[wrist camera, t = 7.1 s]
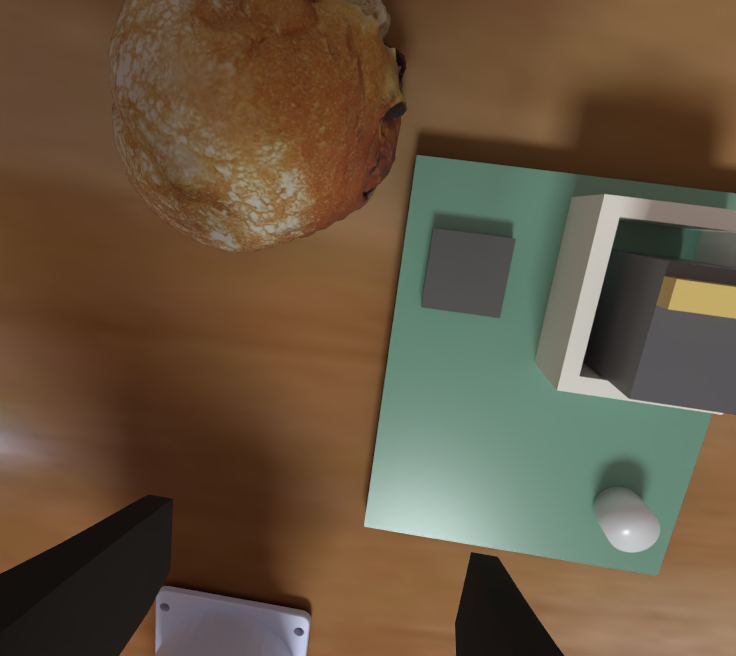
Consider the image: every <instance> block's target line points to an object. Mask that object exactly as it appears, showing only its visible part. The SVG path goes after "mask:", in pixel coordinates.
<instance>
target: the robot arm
mask: <svg viewBox="0 0 736 656" xmlns="http://www.w3.org/2000/svg"><path fill="white" fill-rule="evenodd" d="M172 508H173V499H170V498H164V497H159V496H153V495H147V496H145V497H143V498H141V499H139V500H138V501H136V502H134V503H132V504H130V505H128V506H127V507H125V508H123V509H121V510H120V511H118V512H116V513H114V514H113V515H111V516H109V517H107V518H105V519H104V520H102V521H100V522H98V523H97V524H95V525H93V526H91V527H89V528H88V529H86V530H84V531H82V532H80V533H79V534H77V535H75V536H73V537H71V538H70V539H68V540H66V541H64V542H62V543H60V544H58V545H56V546H55V547H53V548H51V549H49V550H47V551H45V552H43V553H41V554H39V555H37V556H35V557H33V558H31V559H29V560H27V561H25V562H23V563H21V564H19V565H17V566H15V567H13V568H11V569H9V570H7V571H5V572H3V573H1V574H0V656H119V655H120V653H121V652H122V650H123V649H124V647H125V646H126V644H127V643H128V641H129V640H130V638H131V637H132V635H133V634H134V633H135V631H136V630H137V628H138V627H139V625H140V624H141V622H142V621H143V619H144V618H145V616H146V615H147V613H148V611H149V609H150V607H151V606H152V604H153V602H154V600H155V598H156V643H155V656H307V650H308V642H309V633H310V624H311V616H310V615H309V613H307V612H306V611H304V610H299V609H294V608H288V607H283V606H277V605H272V604H266V603H260V602H255V601H249V600H244V599H238V598H233V597H227V596H222V595H216V594H211V593H205V592H199V591H194V590H188V589H183V588H177V587H172V586H163V587H162V585H163V583H164V581H165V579H166V577H167V575H168V573H169V571H170V559H171V534H172ZM161 587H162V588H161ZM165 603H166V604H165ZM167 604H168V605H167ZM298 628H302V629H298ZM455 633H456V656H564V655H563V653H562V652H561V651H560V649H559V648H558V647H557V645H556V644H555V642H554V641H553V639H552V638H551V637H550V635H549V634H548V632H547V631H546V629H545V628H544V627H543V625H542V624H541V622H540V621H539V619H538V618H537V617H536V615H535V614H534V612H533V611H532V609H531V608H530V606H529V605H528V603H527V602H526V600H525V598H524V597H523V595H522V594H521V592H520V591H519V589H518V588H517V586H516V585H515V583H514V581H513V580H512V578H511V577H510V575H509V574H508V572H507V571H506V569H505V567H504V566H503V564H502V563H501V561H500V560H499V558H498V557H495V556H489V555H484V554H478V553H472V552H471V556H470V560H469V564H468V569H467V573H466V578H465V582H464V587H463V591H462V595H461V600H460V604H459V609H458V613H457V618H456V622H455Z"/></svg>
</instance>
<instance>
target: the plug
mask: <svg viewBox="0 0 736 656" xmlns="http://www.w3.org/2000/svg"><path fill="white" fill-rule="evenodd" d="M584 361H586V362H587V363H588V364H589V365H590V366H591V367H593V368H594V369H595V370H596V371H597V372H598V373H600V374H601V375H602V376H603V377H604V378H605V379H607V380H608V381H609V382H610V383H611V384H612V385H613V386H615V387H616V388H617V389H618V390H619V391H620V392H622V393H623V394H624V395H625V396H626V397H627V398H629V399H633V400H640V401H646V402H653V403H660V404H666V405H673V406H680V407H686V408H693V409H700V410H706V411H713V412H720V413H726V414H733V415H736V268H732V267H727V266H721V265H715V264H709V263H704V262H698V261H692V260H686V259H681V258H673V257H666V256H658V255H650V254H643V253H635V252H628V251H620V250H613V249H611V253H610V257H609V261H608V265H607V269H606V273H605V277H604V281H603V285H602V289H601V293H600V297H599V301H598V305H597V309H596V312H595V316H594V320H593V324H592V328H591V332H590V336H589V340H588V344H587V348H586V352H585V356H584Z"/></svg>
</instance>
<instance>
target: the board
mask: <svg viewBox="0 0 736 656" xmlns="http://www.w3.org/2000/svg"><path fill="white" fill-rule="evenodd" d="M600 194H608V195H617V196H625V197H633V198H641V199H649V200H657V201H665V202H674V203H682V204H690V205H698V206H706V207H714V208H723V209H731V210H736V193H729V192H720V191H712V190H704V189H696V188H687V187H679V186H671V185H662V184H654V183H646V182H638V181H629V180H621V179H613V178H604V177H596V176H588V175H580V174H571V173H563V172H555V171H546V170H538V169H530V168H522V167H513V166H505V165H497V164H488V163H480V162H472V161H464V160H455V159H447V158H439V157H430V156H422V155H417V156H416V163H415V170H414V177H413V184H412V191H411V198H410V205H409V212H408V219H407V226H406V233H405V240H404V248H403V255H402V262H401V269H400V276H399V283H398V290H397V297H396V304H395V311H394V318H393V325H392V332H391V339H390V346H389V354H388V361H387V368H386V375H385V382H384V389H383V396H382V403H381V410H380V417H379V424H378V431H377V438H376V445H375V453H374V460H373V467H372V474H371V481H370V488H369V495H368V502H367V509H366V516H365V523H364V527H370V528H375V529H381V530H387V531H393V532H399V533H405V534H411V535H417V536H423V537H429V538H435V539H441V540H447V541H453V542H459V543H465V544H471V545H477V546H482V547H488V548H494V549H500V550H506V551H512V552H518V553H524V554H530V555H536V556H542V557H548V558H554V559H560V560H566V561H572V562H578V563H584V564H589V565H595V566H601V567H607V568H613V569H619V570H625V571H631V572H637V573H643V574H649V575H655V576H658V573H659V570H660V568H661V565H662V562H663V559H664V556H665V553H666V550H667V547H668V544H669V541H670V538H671V535H672V532H673V529H674V526H675V523H676V520H677V517H678V514H679V511H680V508H681V505H682V502H683V499H684V496H685V494H686V491H687V488H688V485H689V482H690V479H691V476H692V473H693V470H694V467H695V464H696V461H697V458H698V455H699V452H700V449H701V446H702V443H703V440H704V437H705V434H706V431H707V428H708V425H709V422H710V420H711V417H712V414H713V413H707V412H700V411H693V410H686V409H680V408H673V407H666V406H659V405H653V404H646V403H639V402H632V401H625V400H619V399H612V398H605V397H598V396H592V395H585V394H578V393H571V392H564V391H558V390H556V389H555V387H554V386H553V385H552V384H551V382H550V381H549V380H548V379H547V378H546V376H545V375H544V374H543V373H542V371H541V370H540V369H539V368H538V366H537V365H536V364H535V363H534V362H535V357H536V353H537V348H538V344H539V340H540V335H541V331H542V326H543V322H544V317H545V313H546V309H547V304H548V300H549V295H550V291H551V286H552V282H553V278H554V273H555V269H556V264H557V260H558V255H559V251H560V247H561V242H562V238H563V233H564V229H565V224H566V220H567V216H568V211H569V207H570V202H571V198H572V197H578V196H589V195H600ZM701 234H702V231H700V230H692V229H684V228H676V227H668V226H660V225H652V224H644V223H636V222H628V221H620V220H619V222H618V226H617V230H616V234H615V238H614V241H613V245H612V249H613V250H620V251H628V252H635V253H643V254H650V255H658V256H666V257H673V258H681V259H686V260H692V261H693V260H694V257H695V254H696V250H697V247H698V244H699V240H700V237H701Z"/></svg>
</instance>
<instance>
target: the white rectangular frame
mask: <svg viewBox="0 0 736 656" xmlns="http://www.w3.org/2000/svg"><path fill="white" fill-rule="evenodd" d="M619 220H620V221H628V222H636V223H644V224H652V225H660V226H668V227H676V228H684V229H692V230H700V231H702V234H701V237H700V240H699V244H698V247H697V250H696V254H695V257H694V260H693V261H698V262H704V263H709V264H715V265H721V266H727V267H732V268H736V210H731V209H723V208H714V207H706V206H698V205H690V204H682V203H674V202H665V201H657V200H649V199H641V198H633V197H625V196H617V195H608V194H600V195H589V196H578V197H572V198H571V202H570V207H569V211H568V216H567V220H566V224H565V229H564V233H563V238H562V242H561V247H560V251H559V255H558V260H557V264H556V269H555V273H554V278H553V282H552V286H551V291H550V295H549V300H548V304H547V309H546V313H545V317H544V322H543V326H542V331H541V335H540V340H539V344H538V348H537V353H536V357H535V362H534V363H535V364H536V365H537V366H538V368H539V369H540V370H541V371H542V373H543V374H544V375H545V376H546V378H547V379H548V380H549V381H550V382H551V384H552V385H553V386H554V387H555V389H556V390H558V391H564V392H571V393H578V394H585V395H592V396H598V397H605V398H612V399H619V400H625V401H632V402H639V403H646V404H653V405H659V406H666V407H673V408H680V409H686V410H693V411H700V412H707V413H714V414H720V415H723V413H720V412H713V411H706V410H700V409H693V408H686V407H680V406H673V405H666V404H660V403H653V402H646V401H640V400H633V399H629V398H627V397H626V396H625V395H624V394H623V393H622V392H620V391H619V390H618V389H617V388H616V387H615V386H613V385H612V384H611V383H610V382H609V381H608V380H607V379H605V378H604V377H603V376H602V375H601V374H600V373H598V372H597V371H596V370H595V369H594V368H593V367H591V366H590V365H589V364H588V363H587V362H586V361H584V356H585V352H586V348H587V344H588V340H589V336H590V332H591V328H592V324H593V320H594V316H595V312H596V309H597V305H598V301H599V297H600V293H601V289H602V285H603V281H604V277H605V273H606V269H607V265H608V261H609V257H610V253H611V249H612V245H613V241H614V238H615V234H616V230H617V226H618V222H619Z"/></svg>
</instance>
